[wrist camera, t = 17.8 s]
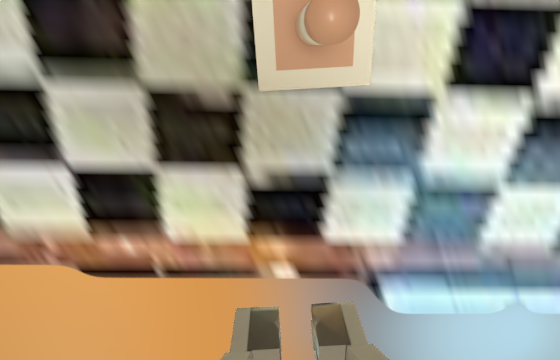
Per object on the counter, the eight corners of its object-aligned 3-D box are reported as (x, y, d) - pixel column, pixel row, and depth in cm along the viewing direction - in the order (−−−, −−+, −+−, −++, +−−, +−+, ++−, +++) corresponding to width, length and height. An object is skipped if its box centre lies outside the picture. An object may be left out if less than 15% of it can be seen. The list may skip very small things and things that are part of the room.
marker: (295, 45, 28) (307, 44, 20) (295, 3, 27) (309, -16, 19) (330, 45, 28) (357, 44, 20) (333, 3, 27) (362, -16, 19)
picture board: (259, 90, 31) (258, 91, 30) (248, -45, 26) (247, -48, 25) (367, 84, 31) (370, 85, 30) (377, -52, 26) (381, -56, 25)
